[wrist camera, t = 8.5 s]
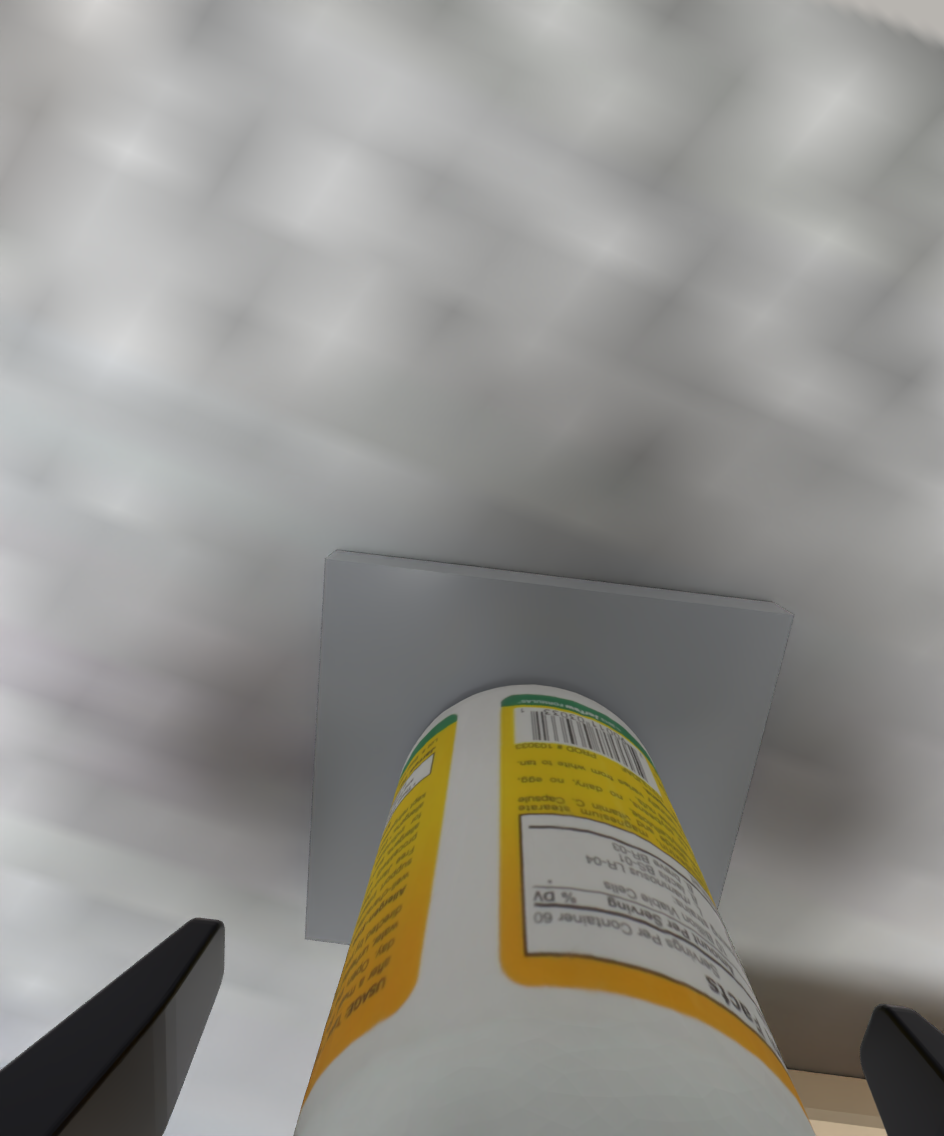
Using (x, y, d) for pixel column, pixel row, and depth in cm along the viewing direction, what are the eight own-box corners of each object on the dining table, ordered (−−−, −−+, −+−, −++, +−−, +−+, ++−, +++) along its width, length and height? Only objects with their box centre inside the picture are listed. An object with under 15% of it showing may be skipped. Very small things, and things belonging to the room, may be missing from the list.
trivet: (685, 957, 14) (696, 989, 13) (315, 910, 14) (305, 939, 13) (774, 602, 12) (794, 614, 11) (336, 550, 12) (325, 558, 11)
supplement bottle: (611, 641, 11) (1145, 1674, 2) (685, 864, 12) (1244, 2187, 3) (358, 722, 12) (-141, 1781, 3) (449, 926, 13) (329, 2163, 4)
